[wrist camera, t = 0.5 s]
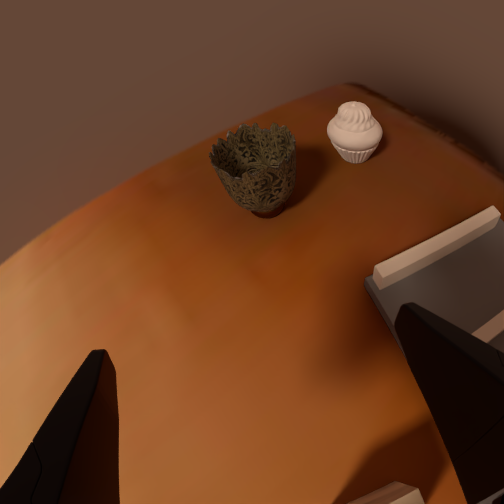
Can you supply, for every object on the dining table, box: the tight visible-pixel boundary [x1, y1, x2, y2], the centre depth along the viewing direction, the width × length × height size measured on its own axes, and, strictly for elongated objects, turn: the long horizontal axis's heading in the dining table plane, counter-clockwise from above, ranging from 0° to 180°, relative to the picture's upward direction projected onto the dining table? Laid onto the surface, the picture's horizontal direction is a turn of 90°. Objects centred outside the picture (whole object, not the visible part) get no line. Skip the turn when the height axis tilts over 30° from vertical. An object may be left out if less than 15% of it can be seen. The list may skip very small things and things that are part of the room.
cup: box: [209, 123, 296, 218], centre depth 29 cm, size 8×7×8 cm
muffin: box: [327, 101, 383, 164], centre depth 32 cm, size 6×6×7 cm
